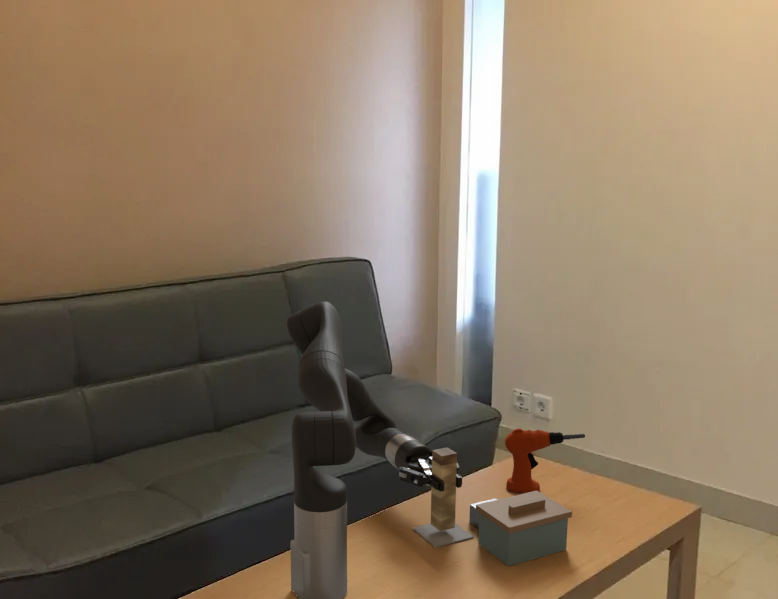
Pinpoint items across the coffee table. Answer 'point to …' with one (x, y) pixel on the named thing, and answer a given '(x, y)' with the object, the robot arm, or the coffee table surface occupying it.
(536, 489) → the toy drill
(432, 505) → the mottled beige block
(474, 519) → the gray open box
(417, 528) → the rubber mat
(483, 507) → the toolbox
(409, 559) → the coffee table surface
